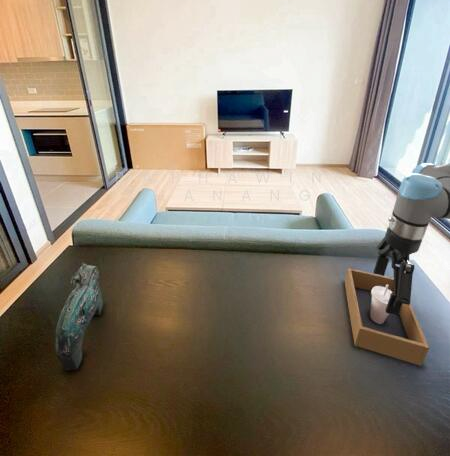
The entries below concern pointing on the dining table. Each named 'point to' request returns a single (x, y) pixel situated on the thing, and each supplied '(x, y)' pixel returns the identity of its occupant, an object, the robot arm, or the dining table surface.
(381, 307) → the smoothie
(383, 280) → the wooden box
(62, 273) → the dining table surface
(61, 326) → the dark teal curved piece
